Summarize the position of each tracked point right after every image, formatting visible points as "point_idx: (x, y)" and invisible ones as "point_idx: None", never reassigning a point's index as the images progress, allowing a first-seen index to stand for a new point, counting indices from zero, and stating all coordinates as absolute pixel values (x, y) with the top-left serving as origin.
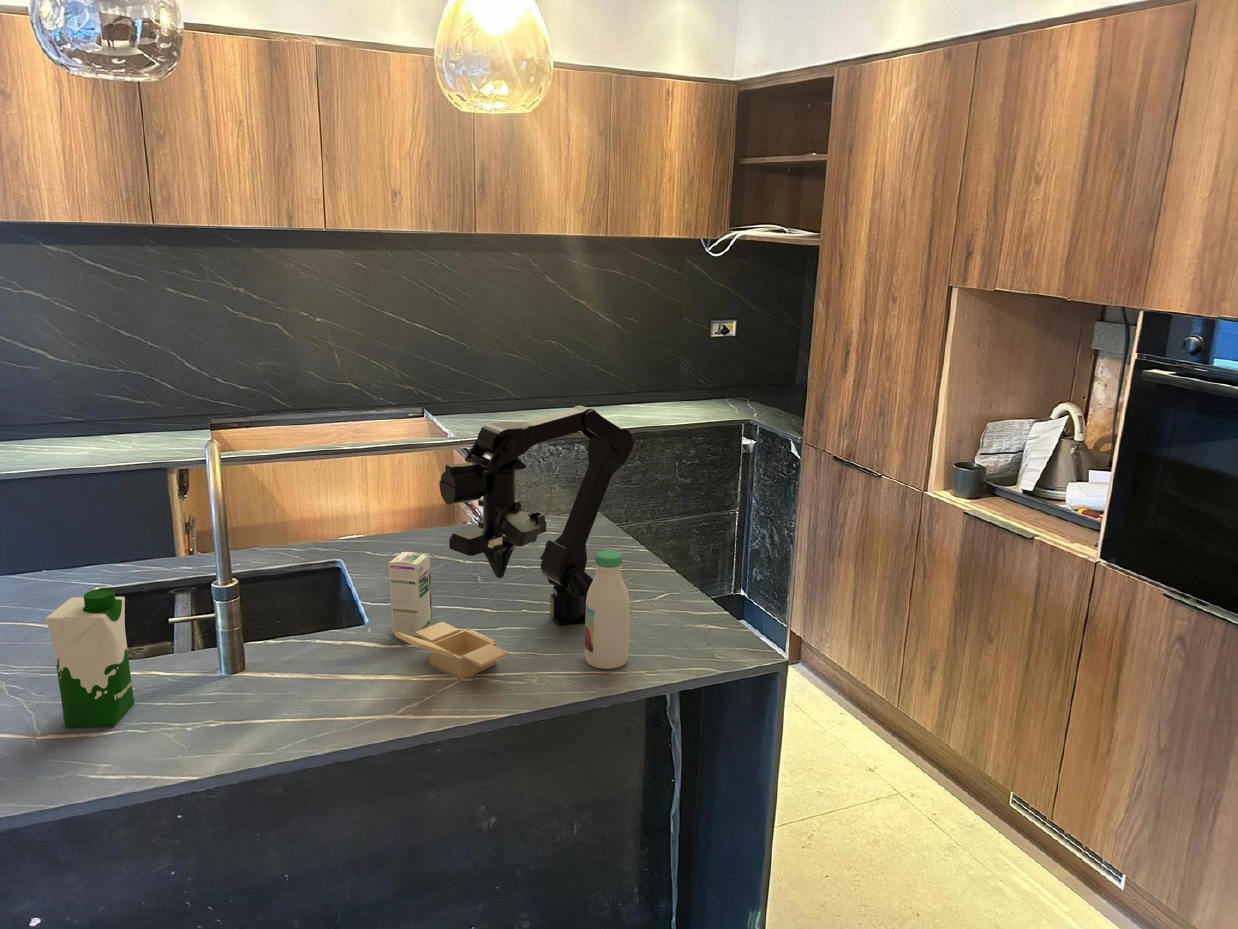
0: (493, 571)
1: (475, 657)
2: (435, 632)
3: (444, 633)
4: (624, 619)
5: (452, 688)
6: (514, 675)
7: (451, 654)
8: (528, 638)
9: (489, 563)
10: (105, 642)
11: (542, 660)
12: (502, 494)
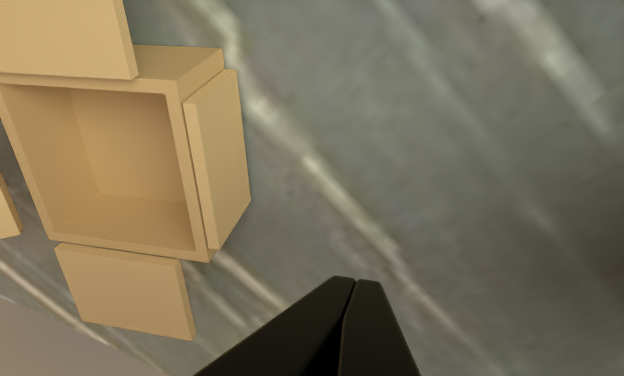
0: (301, 298)
1: (85, 285)
2: (19, 16)
3: (53, 61)
4: None
5: None
6: (244, 287)
7: (8, 233)
8: (486, 174)
9: (231, 349)
10: None
11: None
12: None
